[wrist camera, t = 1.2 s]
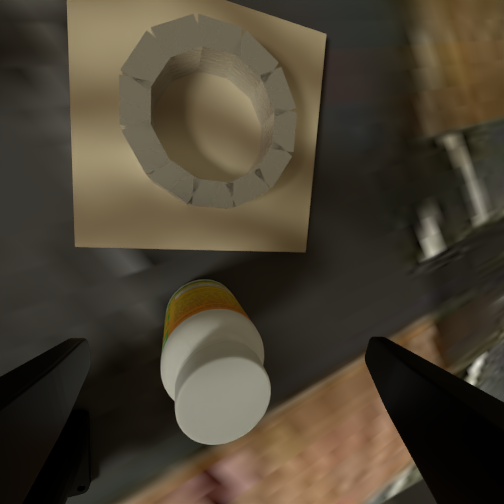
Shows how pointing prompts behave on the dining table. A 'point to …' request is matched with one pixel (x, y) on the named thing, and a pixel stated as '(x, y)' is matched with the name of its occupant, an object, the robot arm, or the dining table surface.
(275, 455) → the dining table surface
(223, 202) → the steel ring collar
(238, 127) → the birch base plate
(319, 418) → the dining table surface
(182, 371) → the supplement bottle
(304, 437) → the dining table surface
